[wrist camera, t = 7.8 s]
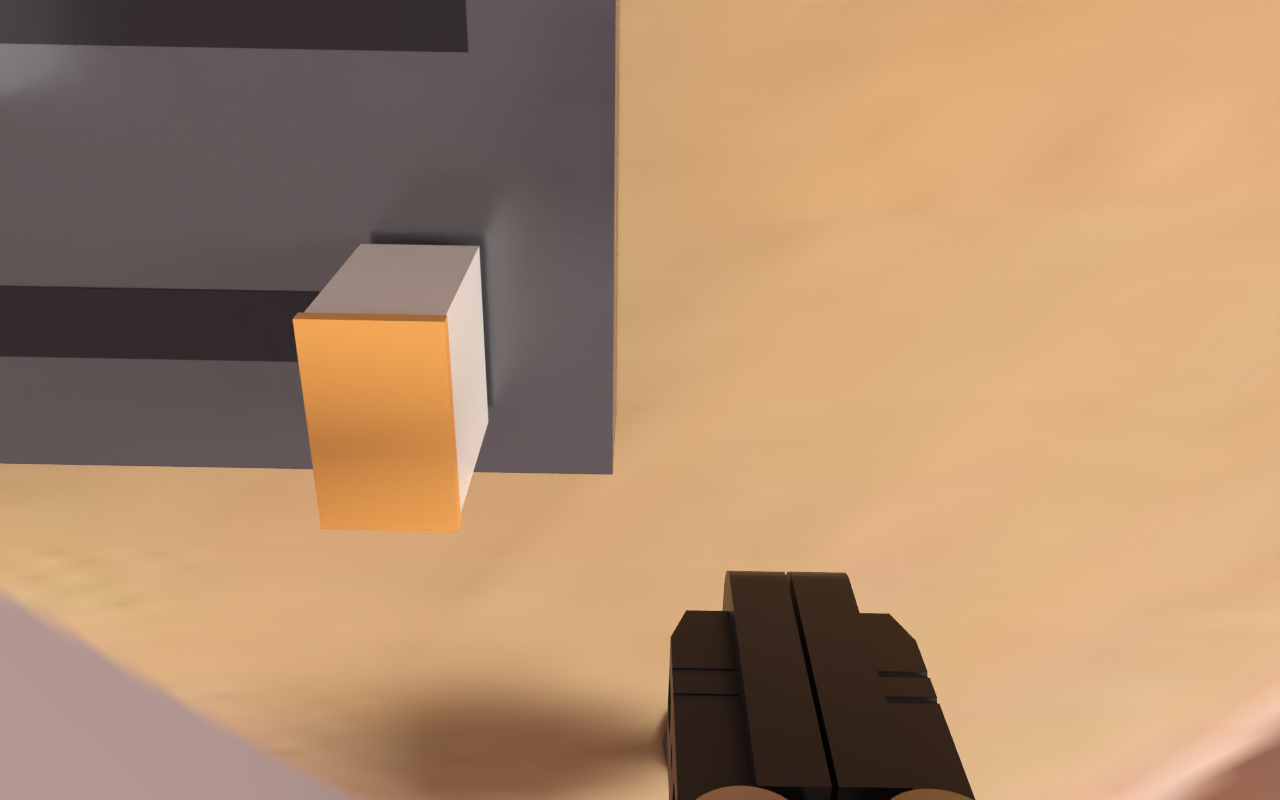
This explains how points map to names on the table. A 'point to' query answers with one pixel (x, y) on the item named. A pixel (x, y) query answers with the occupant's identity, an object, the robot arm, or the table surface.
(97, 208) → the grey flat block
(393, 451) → the block
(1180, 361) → the table surface
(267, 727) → the table surface
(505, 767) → the table surface
